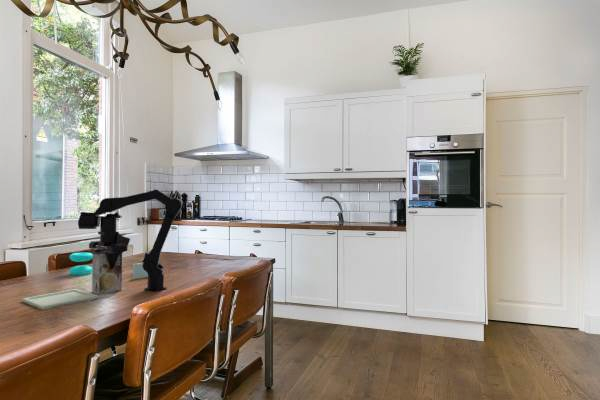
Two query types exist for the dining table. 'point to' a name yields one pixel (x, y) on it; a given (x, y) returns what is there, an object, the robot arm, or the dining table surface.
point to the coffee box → (106, 274)
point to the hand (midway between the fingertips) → (107, 267)
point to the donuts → (79, 258)
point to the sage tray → (59, 299)
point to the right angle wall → (139, 271)
